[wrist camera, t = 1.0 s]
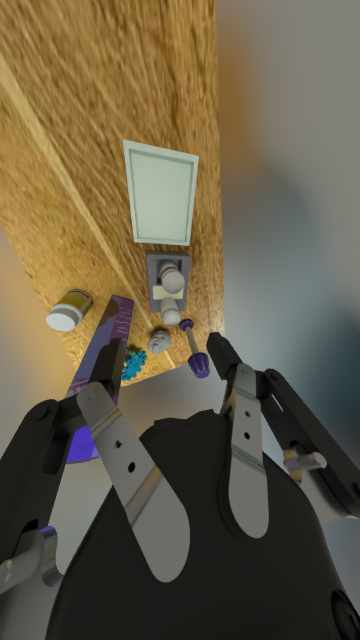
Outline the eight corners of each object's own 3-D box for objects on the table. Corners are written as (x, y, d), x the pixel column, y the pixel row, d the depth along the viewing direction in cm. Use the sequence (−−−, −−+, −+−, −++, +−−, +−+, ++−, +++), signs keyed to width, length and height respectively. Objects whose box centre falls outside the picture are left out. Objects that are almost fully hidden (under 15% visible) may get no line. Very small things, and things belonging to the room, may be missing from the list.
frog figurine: (147, 325, 37) (147, 343, 31) (171, 325, 38) (175, 343, 33) (146, 340, 40) (146, 359, 35) (168, 340, 42) (171, 357, 37)
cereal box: (112, 294, 29) (52, 423, 11) (133, 300, 31) (114, 418, 13) (103, 345, 38) (61, 466, 19) (120, 348, 40) (98, 459, 21)
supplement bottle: (62, 291, 27) (34, 314, 20) (85, 287, 27) (66, 308, 21) (75, 310, 30) (55, 335, 23) (96, 306, 30) (83, 330, 24)
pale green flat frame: (124, 146, 17) (122, 139, 16) (194, 161, 20) (198, 156, 18) (135, 240, 24) (134, 242, 23) (186, 244, 26) (189, 245, 25)
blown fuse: (158, 258, 26) (162, 271, 19) (176, 259, 27) (186, 271, 20) (158, 276, 28) (162, 294, 21) (175, 276, 29) (183, 293, 22)
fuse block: (146, 250, 25) (146, 262, 18) (185, 252, 27) (200, 264, 20) (150, 303, 33) (151, 327, 25) (180, 302, 34) (190, 325, 27)
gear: (147, 368, 46) (123, 389, 38) (135, 360, 49) (110, 378, 41) (148, 344, 41) (121, 362, 33) (135, 336, 44) (107, 351, 36)
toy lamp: (177, 330, 40) (192, 383, 27) (177, 319, 37) (193, 371, 24) (192, 328, 41) (213, 378, 28) (193, 316, 38) (216, 366, 25)
